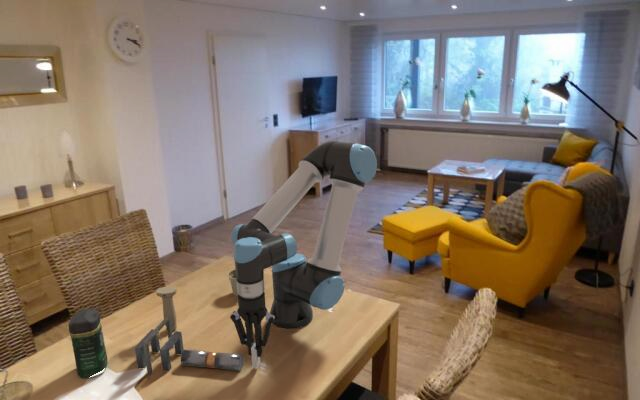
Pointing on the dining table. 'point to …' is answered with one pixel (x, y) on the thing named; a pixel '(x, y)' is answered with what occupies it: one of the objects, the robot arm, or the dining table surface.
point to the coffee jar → (88, 342)
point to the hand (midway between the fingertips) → (256, 364)
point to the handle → (168, 304)
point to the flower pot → (233, 281)
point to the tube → (212, 359)
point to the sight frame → (156, 332)
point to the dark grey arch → (164, 351)
